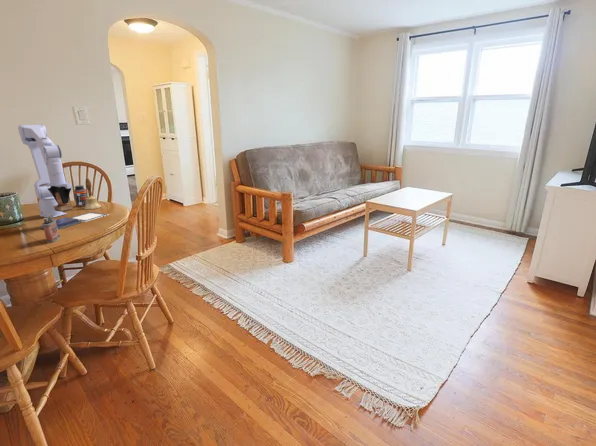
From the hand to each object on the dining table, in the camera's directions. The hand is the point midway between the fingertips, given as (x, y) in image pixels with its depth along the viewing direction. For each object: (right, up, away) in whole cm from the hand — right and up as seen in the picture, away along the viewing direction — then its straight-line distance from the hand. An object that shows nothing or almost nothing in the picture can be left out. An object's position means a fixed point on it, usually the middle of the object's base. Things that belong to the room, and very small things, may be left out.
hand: (62, 202), depth 153 cm
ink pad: (-1, -10, 0) cm, 10 cm away
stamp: (0, -3, +1) cm, 3 cm away
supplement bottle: (-13, 0, +35) cm, 37 cm away
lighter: (+9, -16, -18) cm, 26 cm away
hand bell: (-5, -1, +31) cm, 31 cm away
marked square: (+4, -6, +13) cm, 15 cm away
